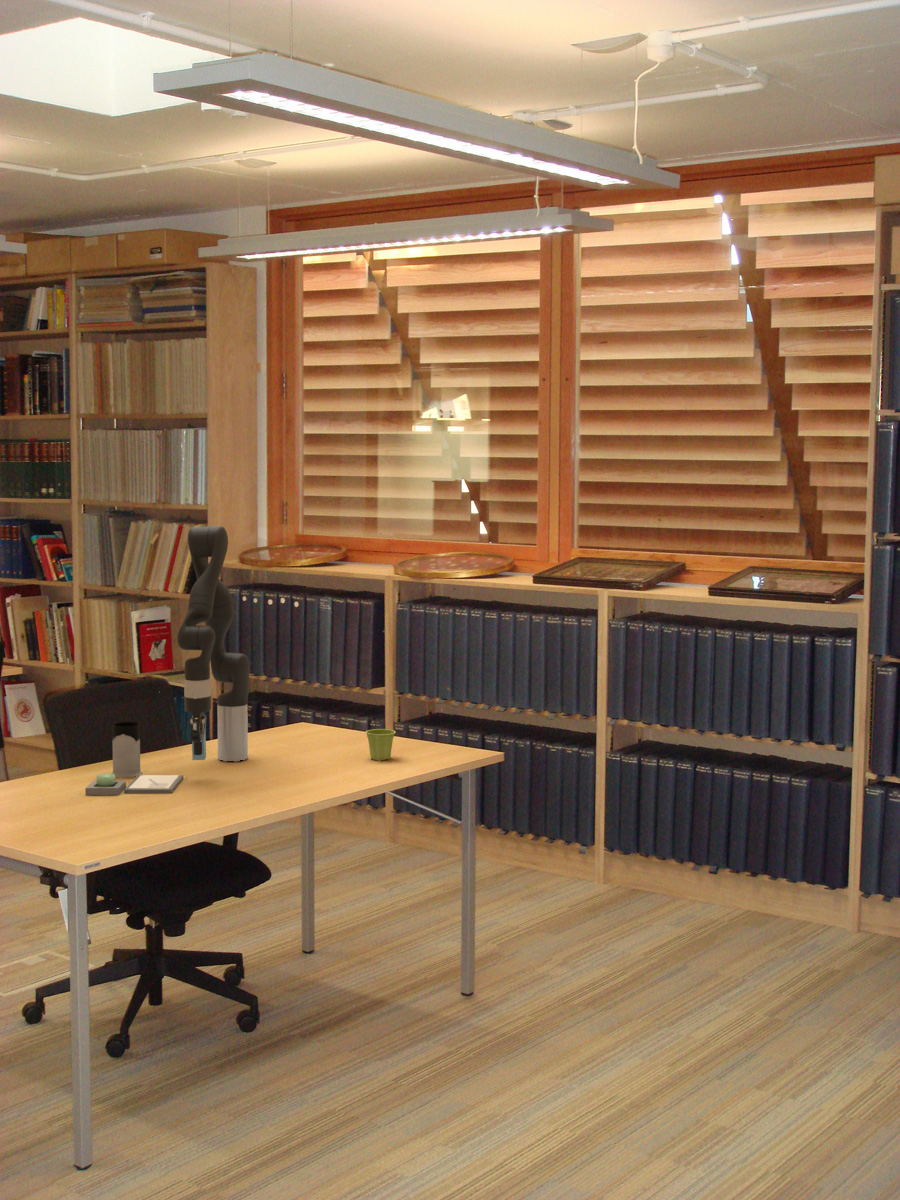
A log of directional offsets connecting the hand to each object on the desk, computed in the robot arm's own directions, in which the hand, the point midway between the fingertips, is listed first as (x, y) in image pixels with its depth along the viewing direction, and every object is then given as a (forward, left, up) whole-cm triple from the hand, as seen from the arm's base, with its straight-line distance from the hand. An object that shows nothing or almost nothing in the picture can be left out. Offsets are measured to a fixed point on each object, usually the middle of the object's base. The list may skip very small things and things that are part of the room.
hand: (199, 752), depth 371 cm
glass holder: (-10, -22, -8) cm, 26 cm away
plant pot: (-30, +52, -8) cm, 60 cm away
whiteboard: (+7, -11, -8) cm, 16 cm away
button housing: (+14, -23, -8) cm, 29 cm away
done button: (+14, -23, -6) cm, 28 cm away
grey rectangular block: (0, 0, -2) cm, 2 cm away
